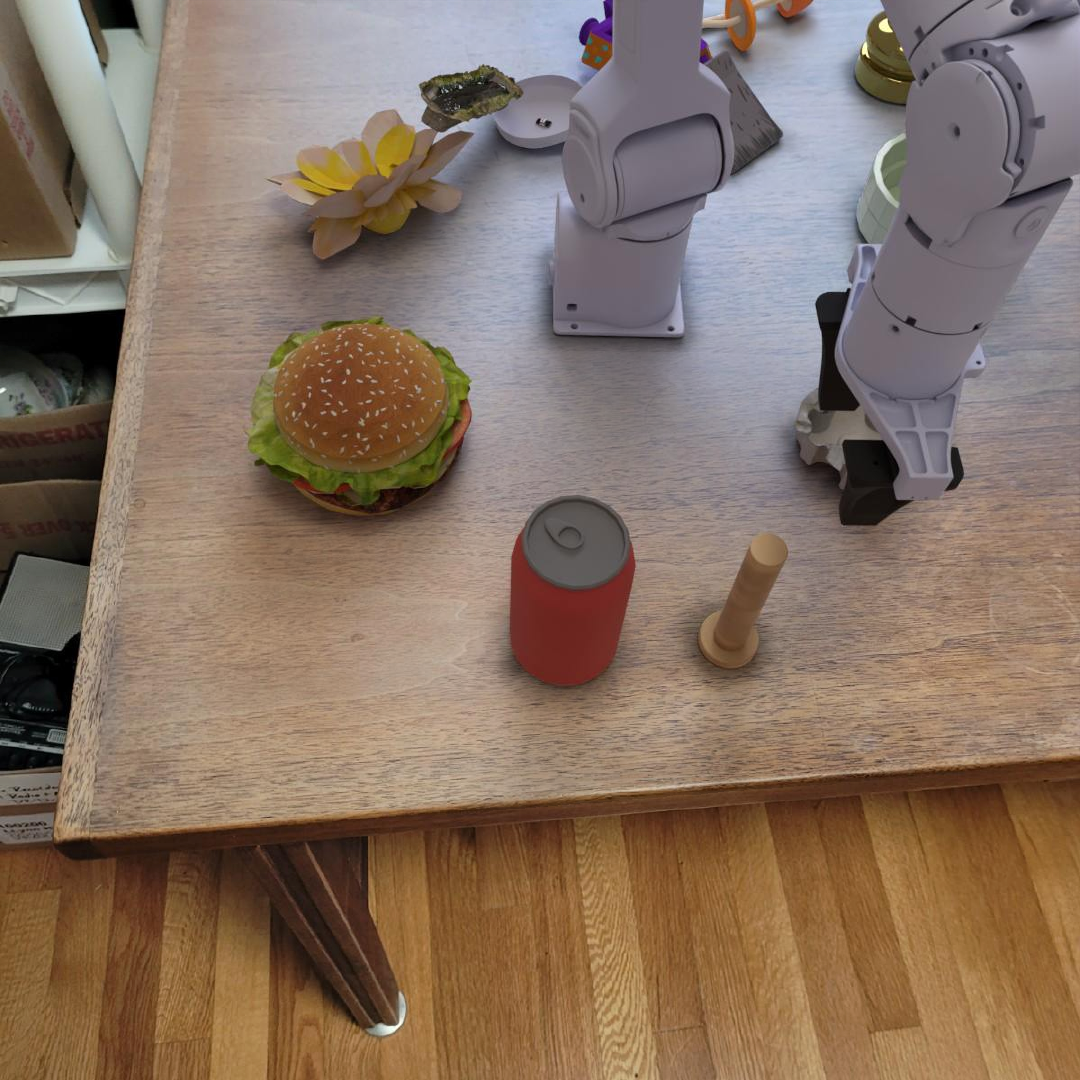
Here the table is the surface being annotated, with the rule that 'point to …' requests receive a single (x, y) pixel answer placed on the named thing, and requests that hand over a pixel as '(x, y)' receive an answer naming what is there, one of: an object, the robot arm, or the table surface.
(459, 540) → the table surface
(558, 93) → the shallow white dish
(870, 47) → the brass candlestick
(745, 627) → the wooden pestle
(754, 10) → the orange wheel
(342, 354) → the food
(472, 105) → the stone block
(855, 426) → the egg carton
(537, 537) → the beer can
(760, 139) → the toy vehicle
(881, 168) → the bowl
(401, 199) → the decorative flower
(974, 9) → the robot arm
